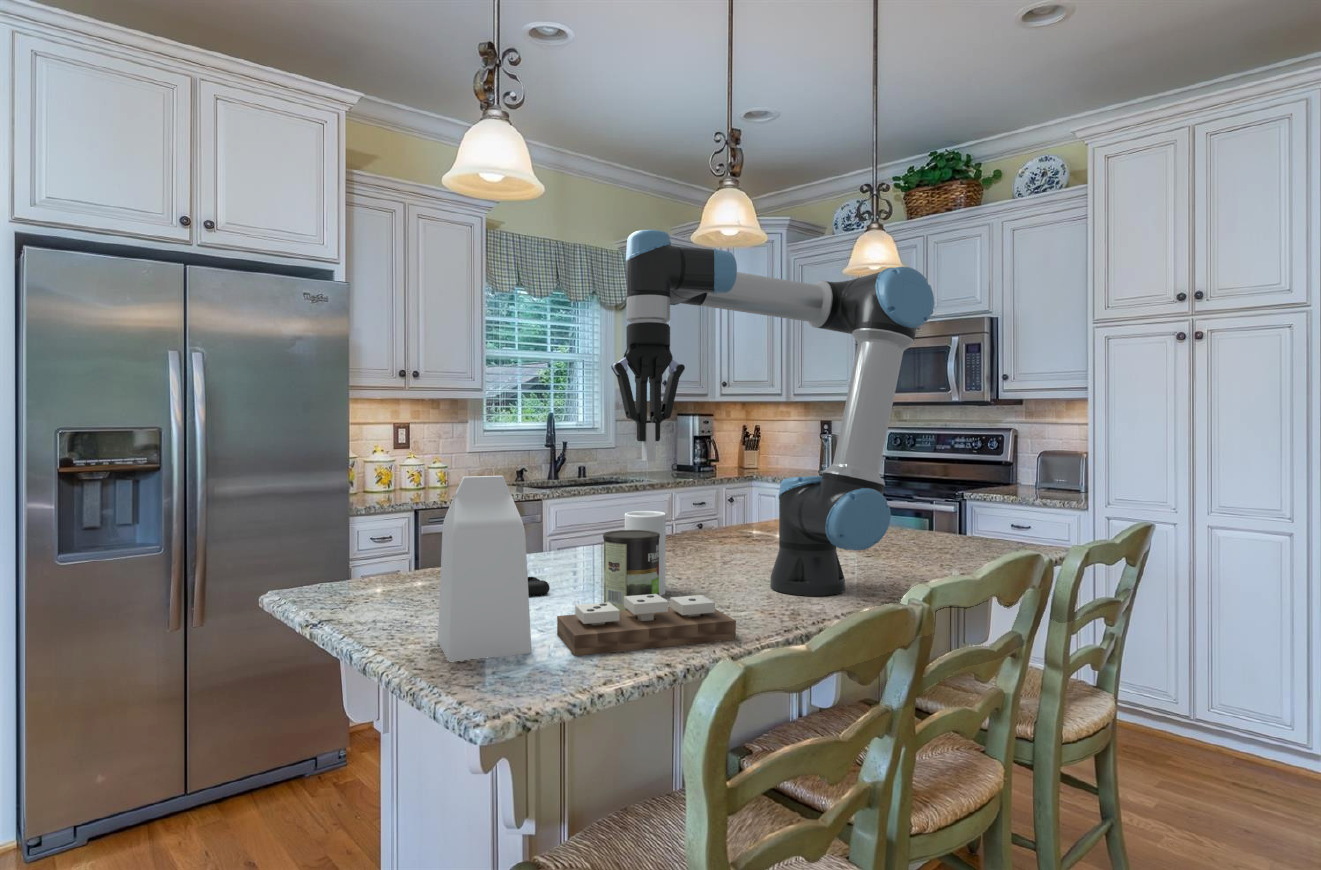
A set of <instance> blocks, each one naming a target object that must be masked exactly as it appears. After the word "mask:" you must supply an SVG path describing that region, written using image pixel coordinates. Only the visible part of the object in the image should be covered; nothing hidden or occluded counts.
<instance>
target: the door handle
mask: <svg viewBox="0 0 1321 870" xmlns="http://www.w3.org/2000/svg"><path fill="white" fill-rule="evenodd" d="M549 591H550V584H549V583H548V582H547V581H546V580H543V579H542V580H540V579H539V578H537V577H536V576H528V594H529V597H538V596H546V595H547V594H548V593H549Z"/></svg>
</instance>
